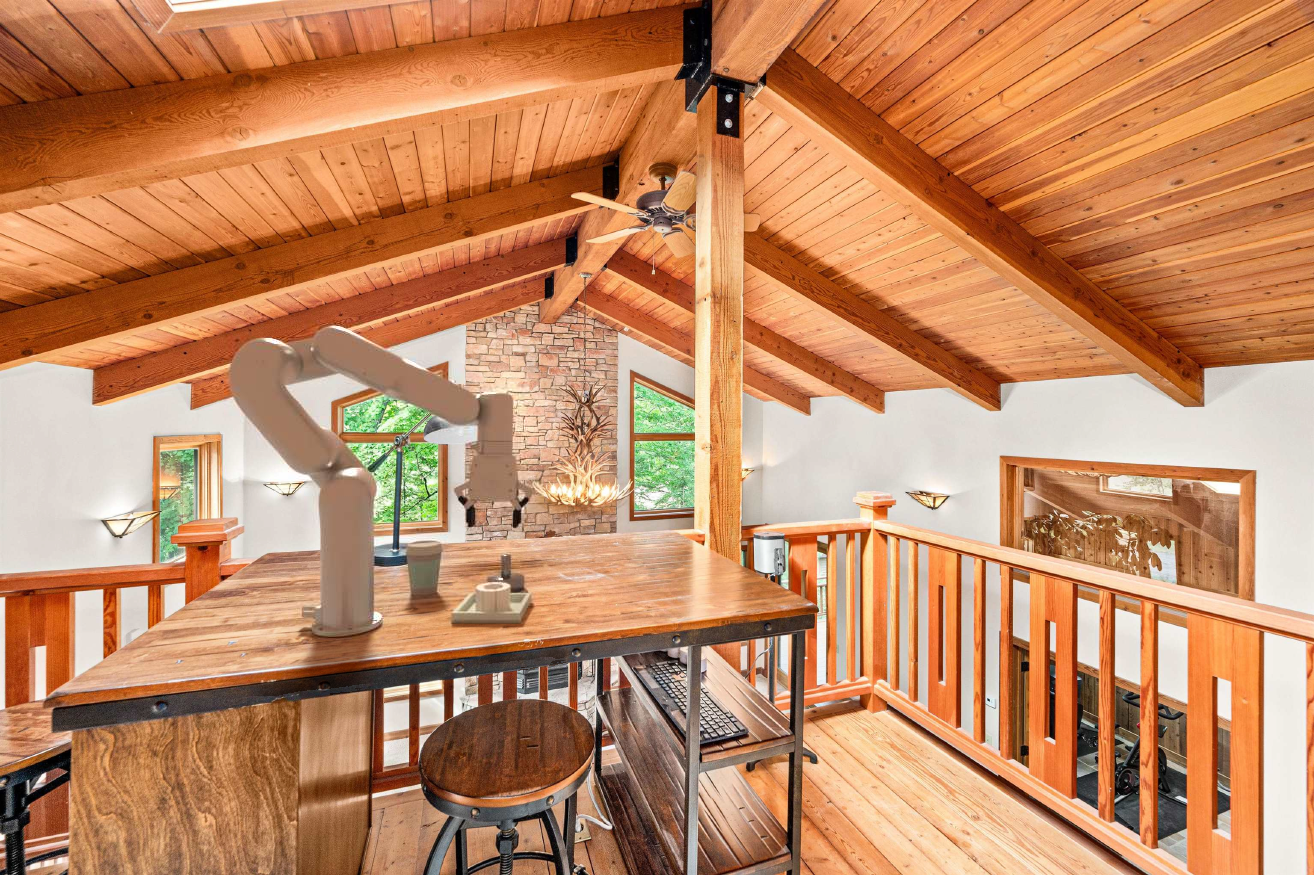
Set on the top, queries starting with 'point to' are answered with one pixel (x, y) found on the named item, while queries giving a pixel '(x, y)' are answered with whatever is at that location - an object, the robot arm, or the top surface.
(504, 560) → the grey peg stand
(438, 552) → the coffee cup
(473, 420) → the robot arm
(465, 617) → the tray
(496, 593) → the collar
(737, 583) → the top surface
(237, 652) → the top surface
